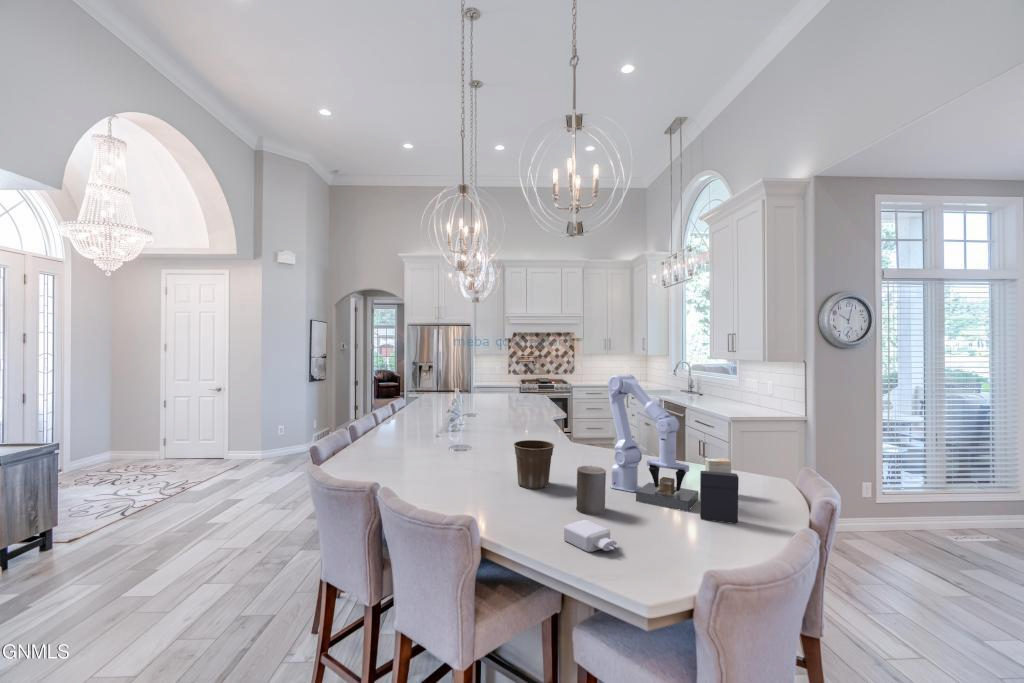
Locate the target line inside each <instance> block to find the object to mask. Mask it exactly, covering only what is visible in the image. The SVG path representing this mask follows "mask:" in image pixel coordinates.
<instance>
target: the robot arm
mask: <svg viewBox="0 0 1024 683" xmlns="http://www.w3.org/2000/svg"><path fill="white" fill-rule="evenodd" d="M607 385H608V400H609V404H610V409H611V413H612V418H613V424H614V428H615V431H616V432H615V433H616V436H617V438H616V439H617V443H616V444H615V445H614V460H615V463H614V464H613V465H612V467H611V468H612V469H611V486H610V488H611V489H614V490H621V491H625V492H631V493H636V491H637V490H639V489H640V488H642V486H641V485H638V479H639V478H638V471H639V470H638V468H639V467H638V466H639V465H640V462H641V461H642V459H643V455H642V454H643V453H642V451H641V450H640V448H639V444H638V443H637V442H636V441H635V440H634V439H633V436H632V432H631V428H630V423H629V419H628V413H627V409H626V405H625V398H626V397H627V396H628V395H629V394H631V395H632V396H633V397H634V398H636V400H637V401H638V402H640V404H642V406H643V407H644V412H645V413H646V414H647V416H648V417H649V418H650V419H651V420H652V421H653V422H654V424H655V427H656V430H657V433H658V437H659V438H658V439H659V441H658V442H659V445H658V446H659V447H658V448H659V453H658V456H659V458H658V459H659V460H657V459H655V460H654V459H647V460H646V466H647V467H649V468H648V471H649V472H650V476H652V480H653V483H654V485H655V487H658V486H659V484H660V483H659V481H660V478H659V475H660V468H663V469H669V470H675V477H676V486H675V487H676V491H680V488H682V483H683V480H684V477H685V476H686V474H687V473H688V472H690V465H689V464H683V463H680V462H677V432H678V431H679V430H680V426H681V425H680V421H679V420H678V418H677V417H676V416H674V415H671V414H670V413H669V412H667V411H666V410H665V409H664V408H663V406H662V404H661V402H658V401H655V400H652V399H651V397H650V396H649V395H648V394H647V393H646V391H645V390H644V389H643V388H642V387H641V385H640V384H639V380H638V379H637V378H636V377H635V376H634V375H633V374H621V375H620V374H619V375H617V374H614V375H612V376H610V377H609V380H608V382H607Z"/></svg>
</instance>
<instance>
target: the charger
mask: <svg viewBox="0 0 1024 683" xmlns="http://www.w3.org/2000/svg"><path fill="white" fill-rule="evenodd" d="M563 540H564V541H565V542H566V543H569V544H570V545H573V546H575V547H577V548H579V549H581V550H583V551H584V552H587V553H592V552H594V551H597V550H603V551H606V552H608V551H610V550H615V548H617V549H619V546H618V545H617V544H618V542H617V541H615V540H613V539H611V530H610V529H608V528H606V527H604V526H601V525H599V524H597V523H594V522H592V521H590V520H587V519H582V520H578V521H575V522H571V523H568V524H566V525H565V526H564V528H563Z"/></svg>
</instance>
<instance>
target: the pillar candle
mask: <svg viewBox="0 0 1024 683" xmlns="http://www.w3.org/2000/svg"><path fill="white" fill-rule="evenodd" d="M606 475H607V469H605V468H603V467H602V466H595V465H582V466H579V467H577V469H576V508H575V509H576V511H577V512H579V513H581V514H585V515H589V514H590V515H592V516H593V515H594V516H595V515H596V514H597V515H602V514H604V513H605V511H606V486H607V485H606V484H607V483H606V481H607V480H606V479H607V477H606ZM597 515H596V516H597Z"/></svg>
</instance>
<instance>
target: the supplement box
mask: <svg viewBox="0 0 1024 683" xmlns="http://www.w3.org/2000/svg"><path fill="white" fill-rule="evenodd" d="M704 464H705V465H704V468H705V469H704V471H712V472H723V473H732V461H731V460H730V459H728V458H722V457H717V458H715V457H714V458H713V457H705V462H704Z"/></svg>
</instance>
